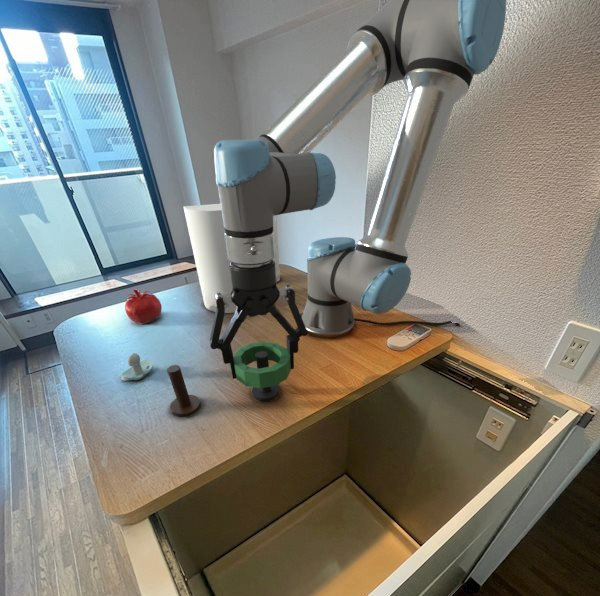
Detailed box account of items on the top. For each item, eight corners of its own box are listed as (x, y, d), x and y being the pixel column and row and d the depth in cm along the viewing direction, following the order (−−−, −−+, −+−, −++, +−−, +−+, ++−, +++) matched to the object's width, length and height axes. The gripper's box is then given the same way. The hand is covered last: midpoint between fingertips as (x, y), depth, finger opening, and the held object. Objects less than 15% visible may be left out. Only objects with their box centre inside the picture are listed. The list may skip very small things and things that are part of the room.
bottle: (281, 276, 124) (277, 182, 105) (278, 284, 118) (273, 186, 99) (261, 275, 125) (252, 182, 105) (257, 283, 119) (247, 186, 99)
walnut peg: (200, 396, 71) (189, 357, 64) (201, 414, 67) (189, 374, 60) (171, 401, 70) (157, 362, 63) (170, 419, 65) (155, 380, 59)
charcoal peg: (276, 382, 74) (273, 344, 68) (282, 399, 70) (279, 360, 63) (250, 387, 73) (244, 349, 67) (254, 404, 69) (249, 365, 62)
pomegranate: (170, 317, 99) (162, 287, 93) (140, 330, 94) (129, 299, 87) (153, 308, 104) (143, 279, 98) (123, 319, 98) (111, 289, 92)
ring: (283, 352, 73) (282, 338, 70) (295, 382, 64) (295, 367, 62) (232, 360, 70) (230, 346, 68) (239, 392, 62) (236, 377, 60)
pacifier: (116, 381, 76) (135, 387, 73) (104, 358, 72) (124, 364, 69) (140, 364, 81) (158, 369, 78) (130, 342, 77) (149, 347, 74)
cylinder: (262, 308, 103) (252, 207, 85) (206, 316, 99) (184, 212, 81) (252, 288, 116) (242, 196, 97) (202, 294, 112) (182, 200, 94)
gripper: (176, 275, 48) (205, 390, 62) (327, 260, 53) (322, 371, 67) (177, 260, 53) (203, 369, 68) (314, 247, 58) (311, 352, 72)
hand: (262, 370), depth 67 cm, fingers closed on ring, 11 cm apart
